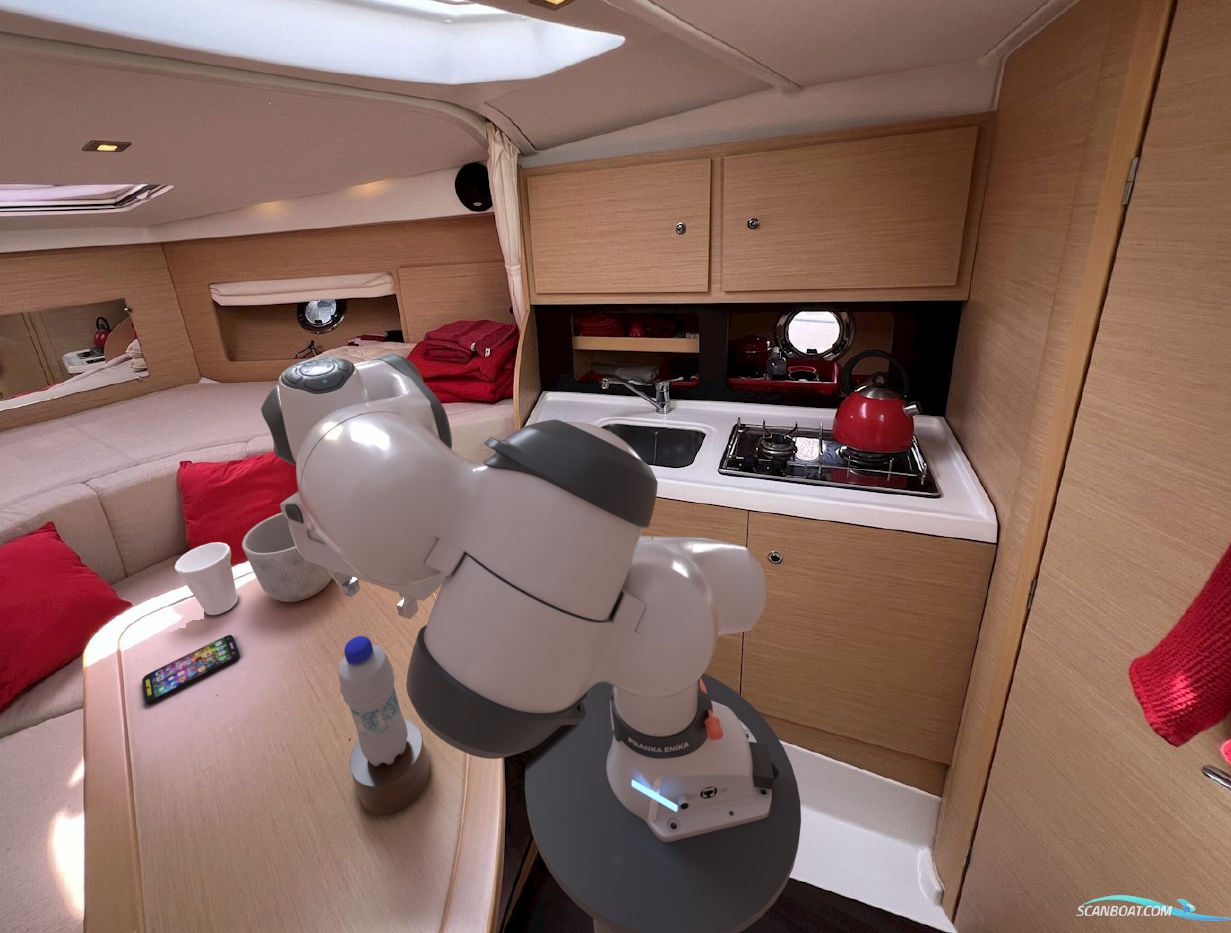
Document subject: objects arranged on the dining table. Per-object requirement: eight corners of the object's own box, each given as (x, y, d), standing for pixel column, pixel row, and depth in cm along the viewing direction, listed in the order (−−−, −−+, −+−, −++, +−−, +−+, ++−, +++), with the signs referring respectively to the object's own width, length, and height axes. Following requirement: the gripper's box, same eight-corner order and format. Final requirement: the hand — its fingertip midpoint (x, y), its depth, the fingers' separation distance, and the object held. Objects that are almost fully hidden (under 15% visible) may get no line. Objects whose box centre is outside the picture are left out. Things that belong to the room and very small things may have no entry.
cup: (257, 598, 118) (239, 549, 113) (210, 629, 110) (188, 578, 105) (232, 584, 123) (214, 537, 118) (186, 613, 115) (164, 563, 110)
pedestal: (436, 744, 83) (429, 716, 81) (419, 814, 74) (411, 785, 71) (373, 746, 83) (364, 718, 81) (348, 815, 74) (337, 787, 72)
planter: (359, 579, 121) (343, 522, 115) (285, 626, 109) (263, 565, 103) (321, 553, 131) (304, 499, 126) (249, 593, 120) (228, 536, 114)
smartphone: (240, 655, 102) (144, 704, 93) (241, 658, 102) (146, 707, 93) (231, 632, 107) (141, 676, 99) (233, 636, 108) (143, 680, 99)
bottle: (359, 741, 78) (325, 635, 70) (406, 719, 80) (378, 615, 73) (367, 782, 72) (331, 672, 65) (416, 757, 75) (388, 648, 67)
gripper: (445, 507, 57) (464, 608, 63) (314, 476, 67) (340, 566, 72) (405, 541, 52) (429, 648, 58) (269, 502, 62) (301, 597, 67)
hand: (379, 602), depth 65 cm, fingers open, 8 cm apart
